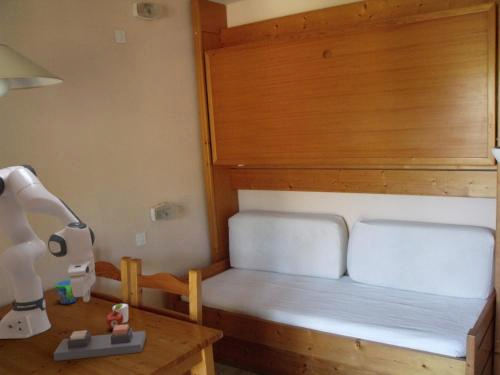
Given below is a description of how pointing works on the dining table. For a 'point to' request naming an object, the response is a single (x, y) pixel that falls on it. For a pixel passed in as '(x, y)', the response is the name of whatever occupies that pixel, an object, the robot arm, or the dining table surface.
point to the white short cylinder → (122, 311)
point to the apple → (115, 317)
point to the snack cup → (65, 292)
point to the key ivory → (79, 335)
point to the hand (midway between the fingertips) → (87, 300)
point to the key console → (100, 345)
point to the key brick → (121, 329)
